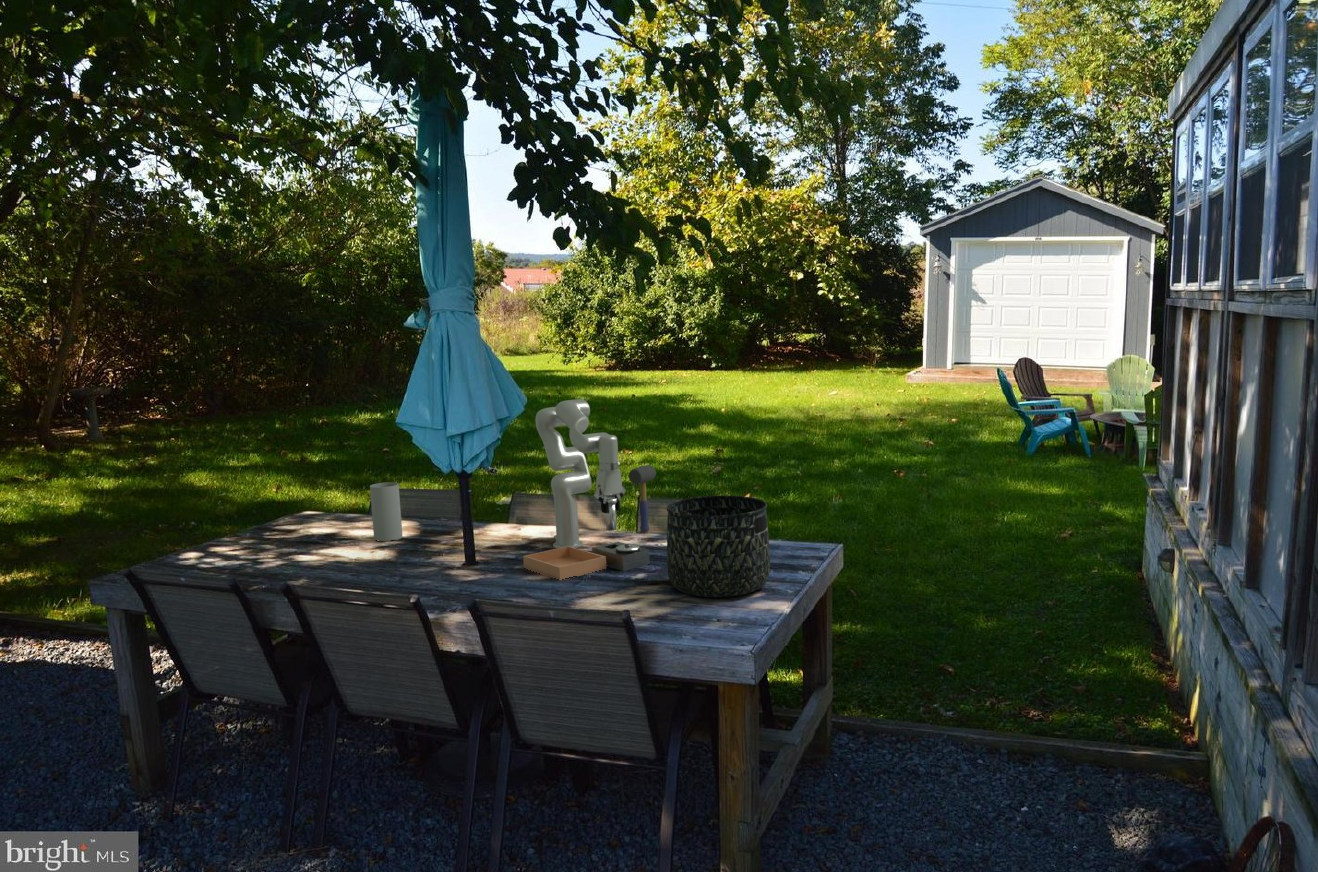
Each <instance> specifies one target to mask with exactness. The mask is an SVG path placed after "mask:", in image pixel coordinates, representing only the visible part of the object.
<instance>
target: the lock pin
mask: <svg viewBox="0 0 1318 872" xmlns="http://www.w3.org/2000/svg"><path fill="white" fill-rule="evenodd" d="M606 503H607V513H605V527H606V529H605V530H606V531H610V532H611V531H616V530H617V512H616V511H617V510H616V506H615V503H617V498H615V497H614V496H610V497H609V496H607V499H606Z"/></svg>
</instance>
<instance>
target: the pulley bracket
mask: <svg viewBox="0 0 1318 872" xmlns="http://www.w3.org/2000/svg"><path fill="white" fill-rule="evenodd" d="M591 550H592V552H591V553H595V554H598V555H602V556H605V557H606V565H608V566H610V567H609V568H611V567H613V568H612V569H614V568H616V569H615V570H618V571H621V572H626V571H630V570H633V569H637V567H638V568H642V567H645V565H646V566H649V565H648V564H650V549H647V548H644V547H641V546H640V545H639V544H635V543H633V544H631V543H624V542H620V541H615V542H611V543H610V542H609V543H606V544H603V545H598V546H592V547H591ZM641 566H642V567H641Z"/></svg>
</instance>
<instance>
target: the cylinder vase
mask: <svg viewBox="0 0 1318 872" xmlns="http://www.w3.org/2000/svg"><path fill="white" fill-rule="evenodd" d="M369 488H370V489H369V491H370V492H369V493H370V504H371V516H372V530H373V540H374V541H375V540H379V541H390V540H396V541H399V540H401V539H402V538H403V527H402V512H401V510H402V509H401V501H400V499H401V498H400V487H399V483H398V482H394V481H393V482H387V481H386V482H379V483H374V484H371V485H369ZM390 542H391V541H390Z"/></svg>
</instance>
